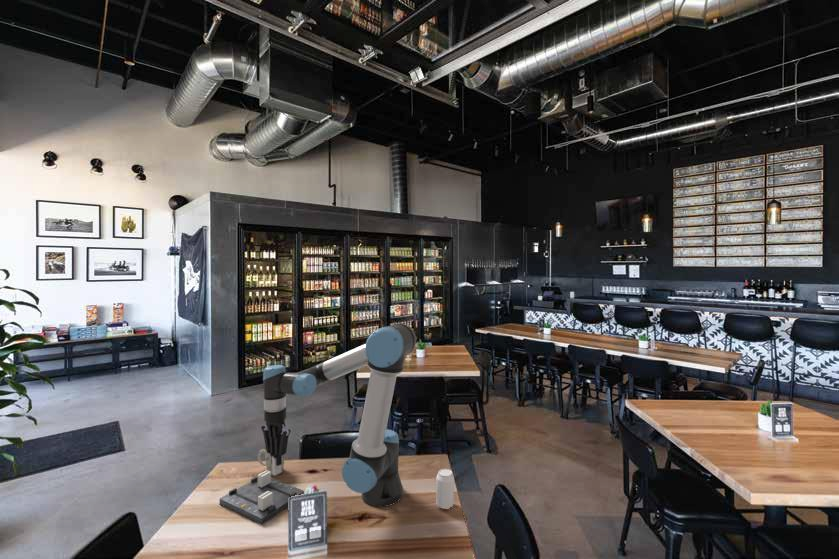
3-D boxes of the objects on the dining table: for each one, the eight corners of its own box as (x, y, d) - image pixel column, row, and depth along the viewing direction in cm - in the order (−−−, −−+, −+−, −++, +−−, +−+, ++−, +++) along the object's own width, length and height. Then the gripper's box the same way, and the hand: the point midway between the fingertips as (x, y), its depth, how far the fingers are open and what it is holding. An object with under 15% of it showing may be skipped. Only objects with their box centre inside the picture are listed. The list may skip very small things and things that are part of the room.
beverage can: (457, 506, 132) (457, 472, 132) (446, 514, 127) (446, 479, 127) (443, 498, 136) (444, 465, 136) (432, 506, 131) (432, 472, 131)
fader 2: (272, 504, 128) (272, 492, 128) (262, 510, 124) (262, 498, 124) (267, 502, 129) (267, 490, 129) (257, 508, 126) (257, 496, 125)
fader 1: (271, 482, 141) (271, 471, 141) (261, 487, 138) (262, 476, 138) (266, 480, 143) (266, 469, 143) (257, 485, 139) (257, 474, 139)
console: (304, 496, 137) (304, 488, 137) (261, 524, 121) (262, 515, 121) (263, 479, 147) (263, 472, 147) (219, 504, 131) (219, 495, 131)
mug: (278, 478, 149) (278, 453, 148) (250, 474, 151) (250, 449, 151) (290, 467, 157) (290, 443, 157) (263, 464, 159) (263, 440, 159)
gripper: (296, 408, 137) (297, 472, 137) (271, 403, 144) (272, 464, 144) (279, 414, 131) (280, 482, 131) (254, 409, 137) (255, 474, 137)
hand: (276, 473), depth 137 cm, fingers closed
